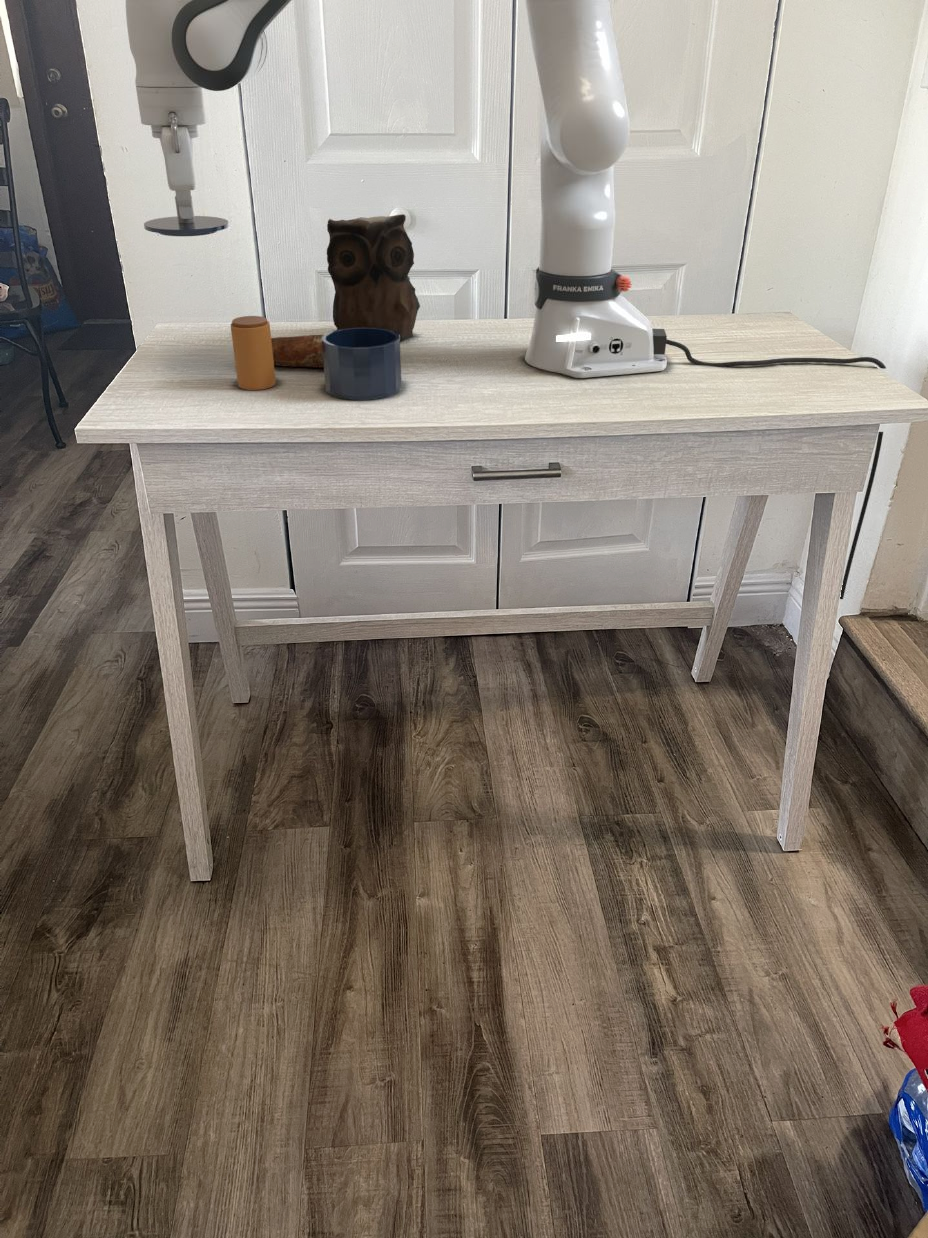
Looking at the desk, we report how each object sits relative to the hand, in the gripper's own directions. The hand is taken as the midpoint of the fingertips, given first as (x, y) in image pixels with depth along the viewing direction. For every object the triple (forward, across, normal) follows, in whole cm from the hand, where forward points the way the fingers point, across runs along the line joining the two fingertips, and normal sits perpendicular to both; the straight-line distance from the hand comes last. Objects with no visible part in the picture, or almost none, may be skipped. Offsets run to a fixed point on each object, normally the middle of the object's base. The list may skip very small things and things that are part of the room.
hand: (186, 215), depth 139 cm
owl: (+22, +9, -29) cm, 37 cm away
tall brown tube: (+22, -13, -7) cm, 26 cm away
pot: (+22, -19, -22) cm, 36 cm away
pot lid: (+2, 0, 0) cm, 2 cm away
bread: (+22, -6, -15) cm, 27 cm away
